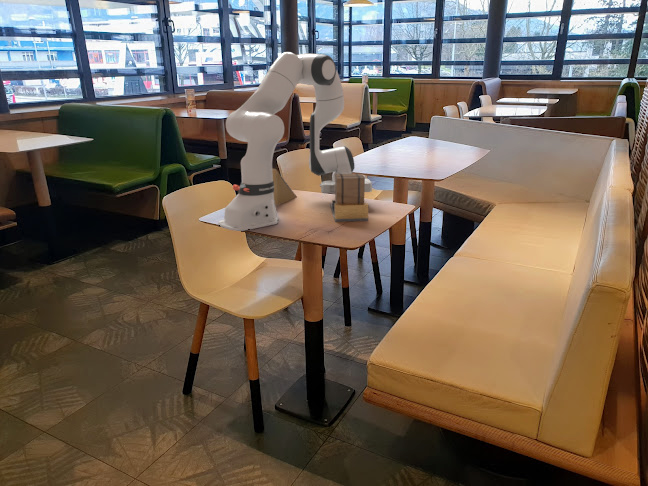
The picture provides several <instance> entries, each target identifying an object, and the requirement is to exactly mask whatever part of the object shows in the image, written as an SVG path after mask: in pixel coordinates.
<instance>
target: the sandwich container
mask: <svg viewBox="0 0 648 486" xmlns="http://www.w3.org/2000/svg"><path fill="white" fill-rule="evenodd" d="M272 178H273V181H274V201H275V206H276V205H277V206H278V205H280V204H283V203H286V202H289V201H291V200H294V199H296V198H298V196H297V195H296V194H295V192H294V191H293V190H292V188H291V187H290V186H289V185H288V183H287V182H286V181H285V179H284V178H283V177H282V176H281V174H280V172H279V170H277V169H276V168H272Z"/></svg>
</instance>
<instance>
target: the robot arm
mask: <svg viewBox="0 0 648 486" xmlns="http://www.w3.org/2000/svg"><path fill="white" fill-rule="evenodd" d="M298 84H300V85H307V86H313V88H314V97H315V108H314V111H313V112H312V113H310V119H309V157H308V166H309V167H308V168H309V170H310V172H311V173H312V174H313V175H316V176H322V175H325V174H330V173H332V179H331V180H324V181H322V182H321V183H319V187H320V191H321V193H322V194H335V174H353V172H354V170H355V160H354V156H353V155H354V154H353V153H352V150H350V149H349V148H348V147H347V146H338V147H333V148H329V149H323V150H321V149H320V134H321V130H322V129H323V128H325V126H327V125H328V124H330V123H331V122H334V121H335V120H336V119H337V118H339V117H340V115H341V114H342V113H343V111H344V109H345V98H344V97H345V96H344V90H343V85H342V82H341V79H340V75H339V73H338V70H337V67H336V63H335V61H334V59H333V58H332V57H331V56H330V55H327V54H325V53H320V54H318V53H310V52H309V53H307V52H306V53H296V54H295V53H293V52H291V51H284V52H283V53H281V54H280V55H279V56H278V57H277V58H276V59H275V60H274V61H273V63H272V64H271V66H270V67H269V69H268V70H267V72H266V74H265V76H263V79H262V80H261V83H260V84H259V86H258V87H257V89H255V91H254V93H253V94H252V95H251V96H249V97H248V98H247V100H246V101H245V102H244V103H243V104H242V105H241V106H240V107H239V108H237V109H236V110H234V111H232V112H231V113H230V114H229V115H227V118H226V120H225V128H226V129H225V130H226V132H227V134H228V135H229V136H230V137H231V138H233V139H235V140H238V141H240V142H245V143H247V147H246V153H245V155H244V156H243V157H242V158H241V160H240V172H241V182H240V185H239V184H233V185H232V190H233V191H237V193H238V194H236V196H235V197H234V198H233V199H232V200H231V201H230V202H229V203H228V205H226V207H225V209H224V213H223V214H224V216H223V217H224V218H223V219H221V220H218V223H217V225H218V224H220V226H219V227H221V228H223V229H225V230H230V231H235V232H243V231H249V230H248V229H250V230H254V229H258V228H259V229H260V228H263V227H268V226H273V225H277V224H278V223H279V222H278V221H279V219H280V217H279V215H278V211H277V207H276V205H275V201H274V181H273V178H272V169H273V157H274V153H275V149H276V146H277V144H278V143H279V142H280V141H281V140H282V139H283V137H284V134H285V125H284V121H283V119H281V117H280V116H278V115H276V114H277V113H278V112H280V111H282V110H283V109H284V108H285V106H286V105H287V103H288V101H289V99H290V97H291V95H293V92H294V90H295V89H296V87H297V85H298ZM362 175H363V176H364V178H365V188H364V193H371V192H372V191H373V182H372V181H371V180H370V179H369V178H367V177H366V176H367V175H364V174H362Z"/></svg>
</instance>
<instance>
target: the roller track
mask: <svg viewBox="0 0 648 486" xmlns="http://www.w3.org/2000/svg"><path fill="white" fill-rule="evenodd" d="M330 208H331V212H332V215H333V220H334V222H335V223H339V222H342V223H343V222H368V221H369V203H368V202H364V203H341V204H335V199H334V200H331V203H330Z"/></svg>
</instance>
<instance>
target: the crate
mask: <svg viewBox="0 0 648 486" xmlns="http://www.w3.org/2000/svg"><path fill="white" fill-rule="evenodd" d="M363 175H364V174H363V173H352V174H335V193H334V198H335V199H334V200H335V204H341V203H365V192H364V188H365V178H364V176H363Z"/></svg>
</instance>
